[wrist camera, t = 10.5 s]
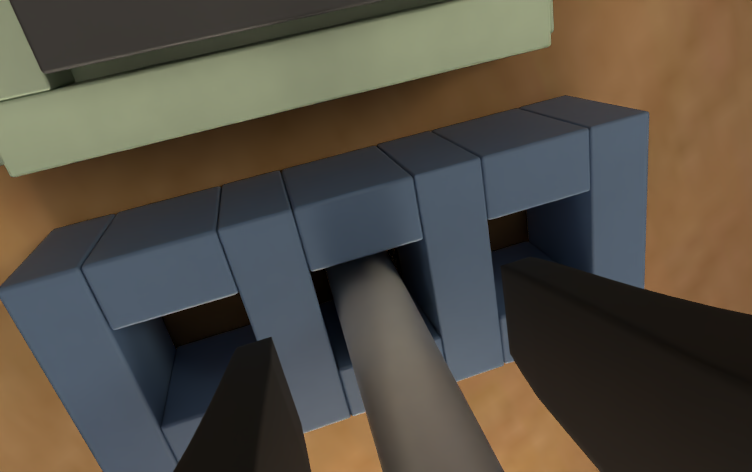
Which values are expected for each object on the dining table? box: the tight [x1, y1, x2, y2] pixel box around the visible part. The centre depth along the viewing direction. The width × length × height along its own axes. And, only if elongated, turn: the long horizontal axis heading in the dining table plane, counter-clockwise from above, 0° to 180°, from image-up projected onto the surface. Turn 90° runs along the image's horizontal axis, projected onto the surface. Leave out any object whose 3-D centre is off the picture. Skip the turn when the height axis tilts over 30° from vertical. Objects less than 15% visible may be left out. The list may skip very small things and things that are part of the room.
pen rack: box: [0, 95, 649, 472], centre depth 12 cm, size 13×5×3 cm, turn 101°
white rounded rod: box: [325, 250, 504, 472], centre depth 9 cm, size 2×2×10 cm
